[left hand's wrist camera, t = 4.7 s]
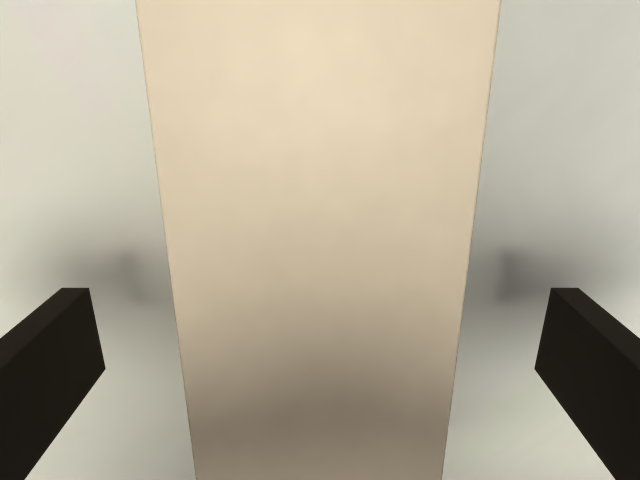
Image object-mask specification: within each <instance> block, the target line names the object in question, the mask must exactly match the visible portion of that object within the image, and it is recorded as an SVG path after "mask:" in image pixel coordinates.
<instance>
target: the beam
mask: <svg viewBox="0 0 640 480" xmlns="http://www.w3.org/2000/svg"><path fill="white" fill-rule="evenodd" d="M135 3H136V11H137V19H138V26H139V34H140V42H141V50H142V58H143V66H144V74H145V81H146V89H147V97H148V105H149V113H150V121H151V129H152V137H153V144H154V152H155V160H156V168H157V176H158V184H159V192H160V199H161V207H162V215H163V223H164V231H165V239H166V247H167V254H168V262H169V270H170V278H171V286H172V294H173V302H174V310H175V317H176V325H177V333H178V341H179V349H180V357H181V365H182V372H183V380H184V388H185V396H186V404H187V412H188V420H189V428H190V435H191V443H192V451H193V459H194V467H195V475H196V480H442V473H443V465H444V457H445V449H446V441H447V433H448V425H449V417H450V409H451V401H452V393H453V385H454V377H455V369H456V361H457V353H458V345H459V337H460V329H461V321H462V313H463V304H464V296H465V288H466V280H467V272H468V264H469V256H470V248H471V240H472V232H473V224H474V216H475V208H476V200H477V192H478V184H479V176H480V168H481V160H482V152H483V144H484V136H485V128H486V120H487V112H488V104H489V96H490V88H491V80H492V72H493V64H494V56H495V48H496V40H497V32H498V24H499V16H500V8H501V0H135Z"/></svg>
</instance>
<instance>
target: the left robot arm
mask: <svg viewBox="0 0 640 480" xmlns="http://www.w3.org/2000/svg"><path fill="white" fill-rule="evenodd" d="M104 370H105V364H104V359H103V354H102V349H101V344H100V340H99V335H98V330H97V325H96V320H95V315H94V310H93V306H92V301H91V296H90V291H89V288H61V289H60V290H59V291H57V292H56V293H55V294H54V295H53V296H51V297H50V298H49V299H48V300H47V301H45V302H44V303H43V304H42V305H40V306H39V307H38V308H37V309H36V310H34V311H33V312H32V313H31V314H30V315H28V316H27V317H26V318H25V319H23V320H22V321H21V322H20V323H19V324H17V325H16V326H15V327H14V328H13V329H11V330H10V331H9V332H8V333H6V334H5V335H4V336H3V337H2V338H0V480H25V478H26V477H27V476H28V474H29V473H30V471H31V470H32V469H33V467H34V466H35V465H36V463H37V462H38V460H39V459H40V458H41V456H42V455H43V454H44V452H45V451H46V450H47V448H48V447H49V445H50V444H51V443H52V441H53V440H54V439H55V437H56V436H57V434H58V433H59V432H60V430H61V429H62V428H63V426H64V425H65V424H66V422H67V421H68V419H69V418H70V417H71V415H72V414H73V413H74V411H75V410H76V409H77V407H78V406H79V404H80V403H81V402H82V400H83V399H84V398H85V396H86V395H87V393H88V392H89V391H90V389H91V388H92V387H93V385H94V384H95V383H96V381H97V380H98V378H99V377H100V376H101V374H102V373H103V372H104ZM535 370H536V372H537V373H538V374H539V376H540V377H541V378H542V380H543V381H544V383H545V384H546V385H547V387H548V388H549V389H550V391H551V392H552V393H553V395H554V396H555V398H556V399H557V400H558V402H559V403H560V404H561V406H562V407H563V409H564V410H565V411H566V413H567V414H568V415H569V417H570V418H571V419H572V421H573V422H574V424H575V425H576V426H577V428H578V429H579V430H580V432H581V433H582V434H583V436H584V437H585V439H586V440H587V441H588V443H589V444H590V445H591V447H592V448H593V450H594V451H595V452H596V454H597V455H598V456H599V458H600V459H601V460H602V462H603V463H604V465H605V466H606V467H607V469H608V470H609V471H610V473H611V474H612V476H613V477H614V478H615V480H640V338H638V337H637V336H636V335H635V334H634V333H632V332H631V331H630V330H629V329H627V328H626V327H625V326H624V325H623V324H621V323H620V322H619V321H618V320H617V319H615V318H614V317H613V316H612V315H610V314H609V313H608V312H607V311H606V310H604V309H603V308H602V307H601V306H600V305H598V304H597V303H596V302H595V301H593V300H592V299H591V298H590V297H589V296H587V295H586V294H585V293H584V292H583V291H581V290H580V289H579V288H551V291H550V296H549V301H548V306H547V310H546V315H545V320H544V325H543V330H542V335H541V340H540V344H539V349H538V354H537V359H536V364H535Z"/></svg>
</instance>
